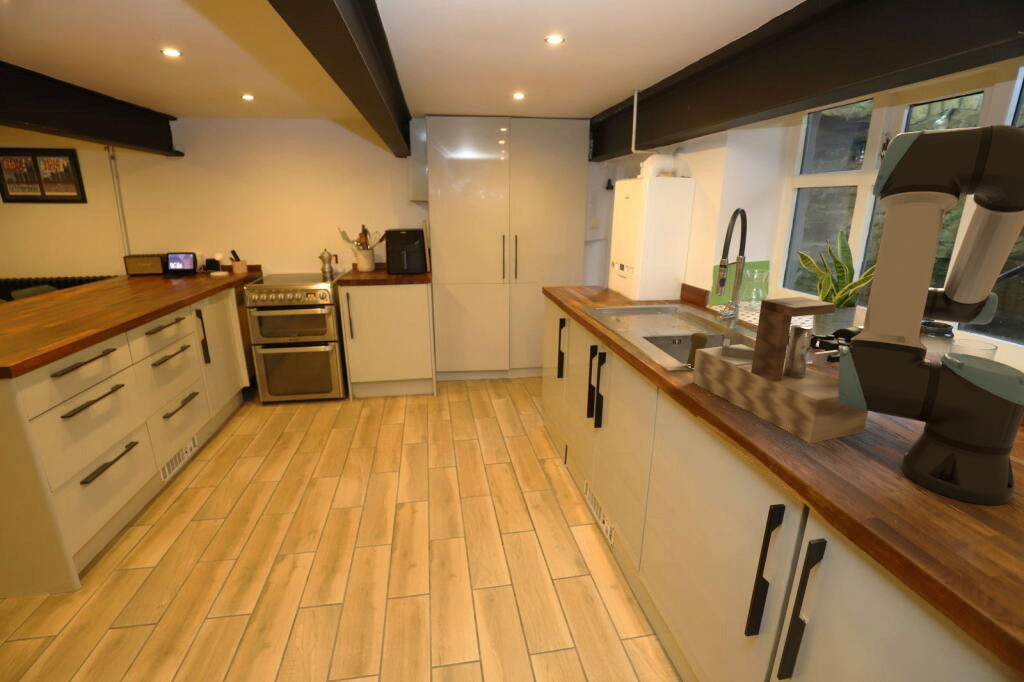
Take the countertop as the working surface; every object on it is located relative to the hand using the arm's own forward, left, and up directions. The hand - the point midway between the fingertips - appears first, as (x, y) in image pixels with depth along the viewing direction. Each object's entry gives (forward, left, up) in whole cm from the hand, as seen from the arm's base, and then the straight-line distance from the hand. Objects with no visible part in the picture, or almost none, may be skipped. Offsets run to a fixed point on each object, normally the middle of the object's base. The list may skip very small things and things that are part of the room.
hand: (788, 350), depth 110 cm
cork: (+34, +13, -17) cm, 40 cm away
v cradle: (+16, +6, -7) cm, 18 cm away
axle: (+2, -3, -7) cm, 7 cm away
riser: (+7, 0, -17) cm, 18 cm away
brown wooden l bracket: (+1, -1, -7) cm, 7 cm away
